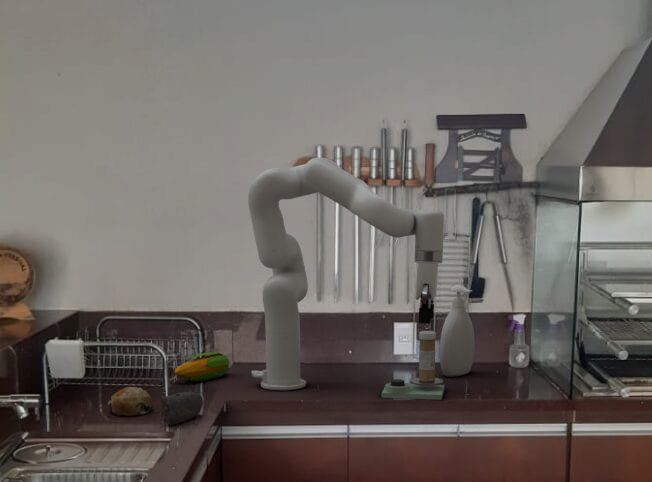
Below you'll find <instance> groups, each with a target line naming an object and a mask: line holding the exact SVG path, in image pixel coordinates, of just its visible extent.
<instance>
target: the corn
mask: <svg viewBox="0 0 652 482" xmlns="http://www.w3.org/2000/svg"><path fill="white" fill-rule="evenodd" d="M193 358H194V359H193ZM189 359H191V360H189V361H187V362H184V363H182V364H181V365H179V366H177V367H176V368H175V370H174V372H173V375H175V376H176V377H177V378H181V379H182V378H183V379H189V381H190V382H205V381H210V380H212V379H217V378H221V377H222V376H223V375H224V374H225V373H227V371H228V370H229V369H228V368H229V365H230V363H231V362H230V359H229V358H228V356H227V355H226V354H225V355H224V354H223V353H220V352H218V351H207V352H202V353H199V354H195V355H192V356H189Z"/></svg>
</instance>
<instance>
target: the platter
mask: <svg viewBox="0 0 652 482" xmlns="http://www.w3.org/2000/svg"><path fill="white" fill-rule="evenodd" d="M410 384H415V385H421V386H435V385H444V380H443V379H442V378H438V377H435V380H434V381H432V382H424V381H420V380H419V377H414V378H413V377H412V378H411V379H410Z"/></svg>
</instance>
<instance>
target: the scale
mask: <svg viewBox="0 0 652 482" xmlns="http://www.w3.org/2000/svg"><path fill="white" fill-rule="evenodd" d="M444 392H445V384H441V385H435V386H421V385H415V384H412V383H407V382H404V386H401V387H394V386H391V382H388V383H385V385H384V388H383V390H382V391H381V393H380V394H381V397H380V398H382V399H383V398H384V399H409V400H413V399H415V400H436V401H437V400H438V401H439V400H440V401H441V400H442V399H443V397H444Z"/></svg>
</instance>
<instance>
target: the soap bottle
mask: <svg viewBox="0 0 652 482" xmlns="http://www.w3.org/2000/svg"><path fill="white" fill-rule="evenodd" d="M450 292H451V293H456V297H453V299H451V309H450V311H449V312H448V314H447V315H446V317H445V320H444V322H443V326H442V329H441V334H440V342H439V363H440V369H441V371H442V374H443V375H444V376H445V377H449V378H454V377H460V376H466V375H467V374H469V373H470V372H471V370H472V367H473V363H474V358H475V331H474V330H475V329H474V324H473V322H472V319H471V317H470V315H469V313H468V312H467V310H466V308H465V307H466V305H465V302H466V300H465V299H464V298H463V297H461V293H467V294H470V293H473V289H468V288H467V287H465V286H463V285H462V284H456V285H454V286H452V287H451V288H450Z"/></svg>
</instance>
